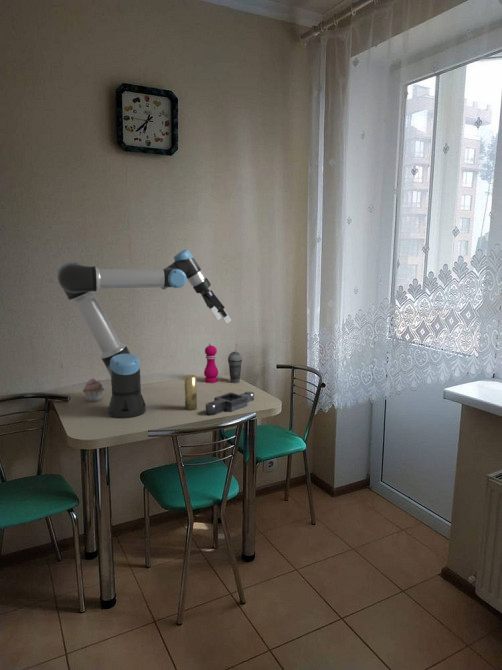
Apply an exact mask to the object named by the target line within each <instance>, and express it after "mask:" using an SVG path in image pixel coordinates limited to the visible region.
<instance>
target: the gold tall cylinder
mask: <svg viewBox="0 0 502 670" xmlns="http://www.w3.org/2000/svg"><path fill="white" fill-rule="evenodd" d="M183 377H184V379H183V380H184V383H183V384H184V410H186V411H195V410H197V409H198V398H197V394H198V393H197V392H198V390H197V387H198V385H197V375H196V374H195V375H194V374H188V375H184V376H183Z"/></svg>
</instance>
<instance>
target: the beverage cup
mask: <svg viewBox="0 0 502 670" xmlns="http://www.w3.org/2000/svg"><path fill="white" fill-rule="evenodd" d="M235 345H236V346H235V351H231V352H230V353H229V354H228V357H227V363H228V367H229V379H230V383H232V384H239V383H240V381H241V372H242V371H241V369H242V363H243V357H242V354H241V353H240V352H238V342H237V343H236V344H235Z"/></svg>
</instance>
